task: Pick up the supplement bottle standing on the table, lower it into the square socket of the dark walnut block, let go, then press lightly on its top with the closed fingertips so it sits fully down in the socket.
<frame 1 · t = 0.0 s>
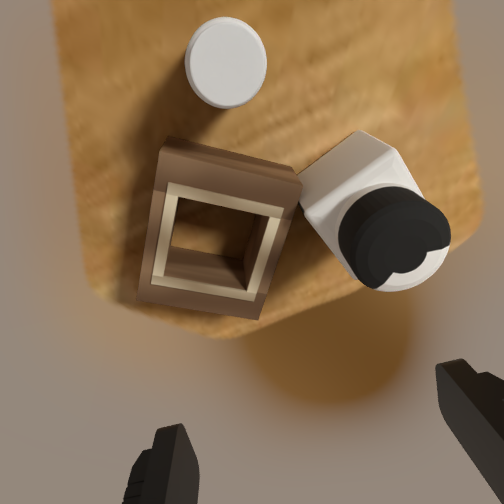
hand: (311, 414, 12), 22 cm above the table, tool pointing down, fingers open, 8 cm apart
socket block: (215, 220, 33), on the table
medicine bottle: (343, 187, 32), on the table
supplement bottle: (224, 62, 27), on the table
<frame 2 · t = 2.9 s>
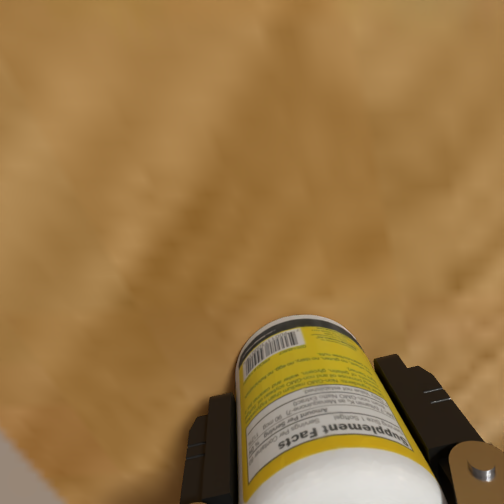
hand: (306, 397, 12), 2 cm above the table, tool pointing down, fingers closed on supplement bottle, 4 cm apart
supplement bottle: (298, 363, 14), on the table, touching gripper
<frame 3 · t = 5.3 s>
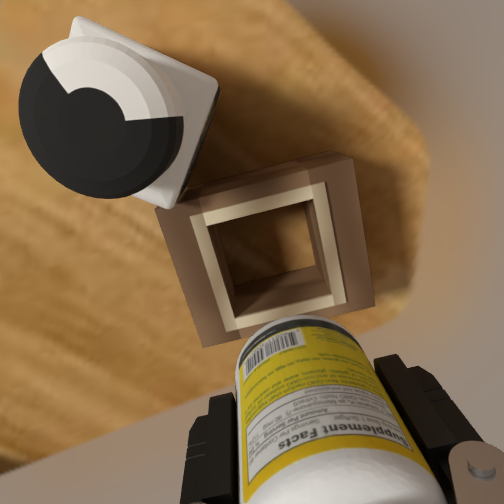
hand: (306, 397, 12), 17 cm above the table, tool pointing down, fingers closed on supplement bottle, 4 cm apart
socket block: (265, 236, 29), on the table
medicine bottle: (154, 119, 26), on the table
supplement bottle: (298, 363, 14), point 15 cm above the table, touching gripper
when the fingers open (5 cm above the table, at t = 7.8 s): supplement bottle drops 4 cm, resting in socket block.
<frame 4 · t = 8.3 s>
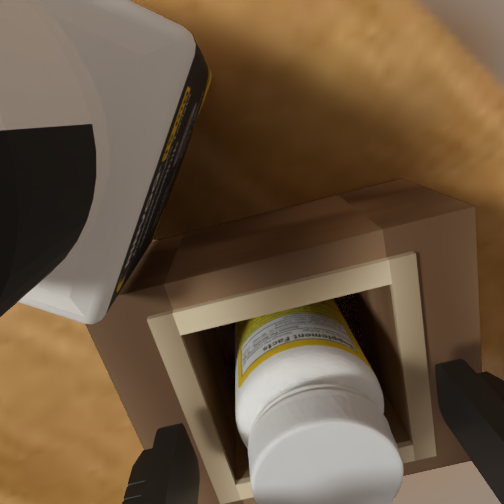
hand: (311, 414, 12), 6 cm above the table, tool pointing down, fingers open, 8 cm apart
socket block: (285, 316, 17), on the table
medicine bottle: (94, 124, 14), on the table
supplement bottle: (284, 314, 18), resting in socket block
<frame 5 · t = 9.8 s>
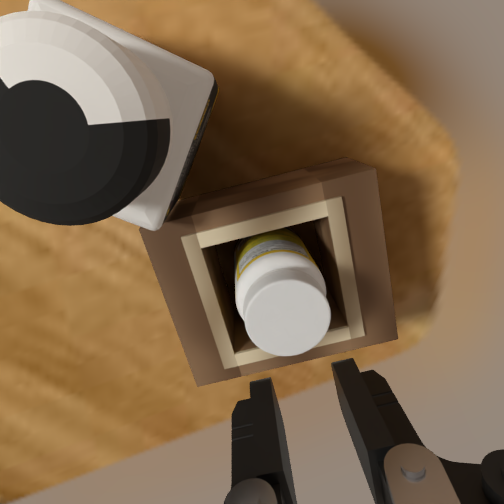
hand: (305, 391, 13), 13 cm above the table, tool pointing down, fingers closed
socket block: (269, 255, 25), on the table
medicine bottle: (141, 121, 22), on the table
supplement bottle: (269, 254, 25), resting in socket block
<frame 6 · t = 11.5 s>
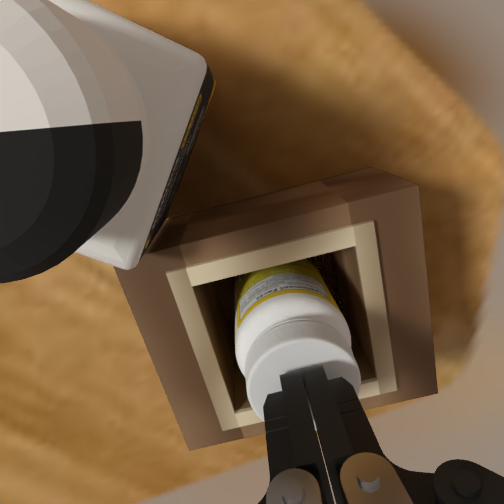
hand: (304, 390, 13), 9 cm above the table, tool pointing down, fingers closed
socket block: (277, 284, 21), on the table
medicine bottle: (120, 122, 18), on the table
supplement bottle: (276, 283, 21), resting in socket block
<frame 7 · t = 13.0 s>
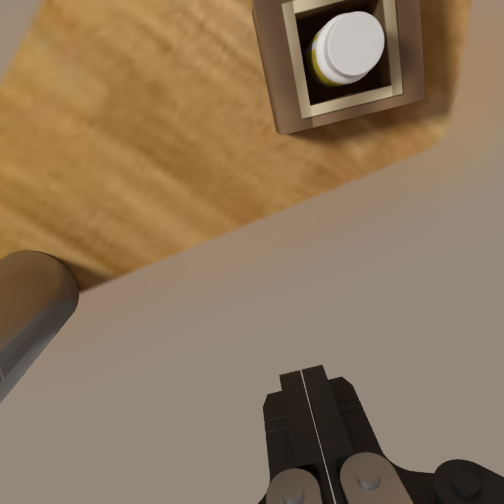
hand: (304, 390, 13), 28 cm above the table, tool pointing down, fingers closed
socket block: (329, 58, 34), on the table
supplement bottle: (329, 59, 34), resting in socket block
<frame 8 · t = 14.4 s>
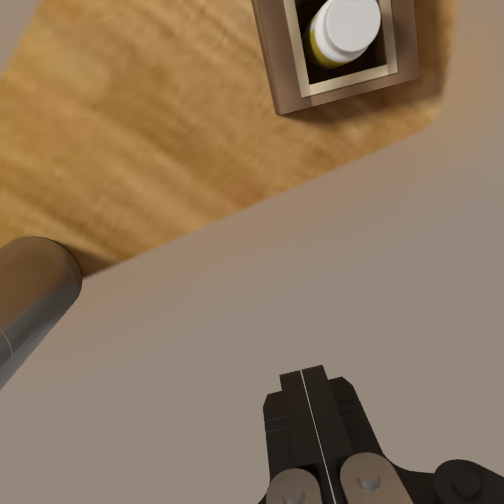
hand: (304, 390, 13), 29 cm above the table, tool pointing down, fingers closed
socket block: (326, 42, 35), on the table
supplement bottle: (325, 43, 35), resting in socket block
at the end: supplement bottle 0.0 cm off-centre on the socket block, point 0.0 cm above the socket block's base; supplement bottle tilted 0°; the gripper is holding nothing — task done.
